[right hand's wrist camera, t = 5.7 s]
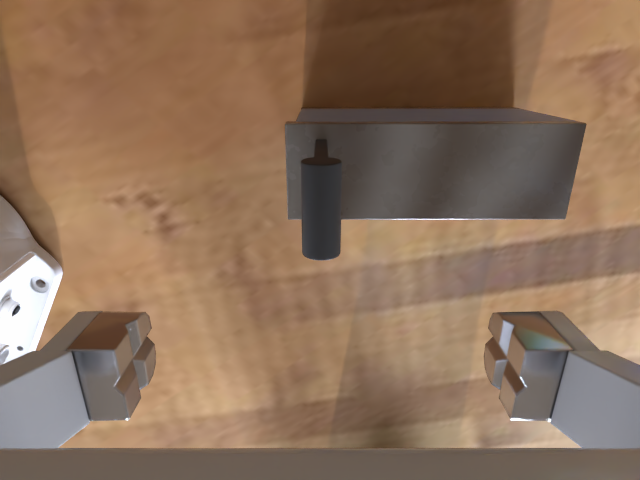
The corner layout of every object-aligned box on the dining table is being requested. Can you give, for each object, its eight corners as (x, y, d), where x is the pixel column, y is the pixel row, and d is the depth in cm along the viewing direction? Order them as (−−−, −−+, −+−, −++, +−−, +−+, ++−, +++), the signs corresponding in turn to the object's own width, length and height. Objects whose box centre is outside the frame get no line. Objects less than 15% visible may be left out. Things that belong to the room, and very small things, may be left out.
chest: (302, 180, 37) (297, 214, 28) (301, 107, 34) (295, 121, 26) (502, 180, 37) (557, 214, 28) (514, 107, 34) (577, 120, 26)
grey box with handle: (289, 214, 28) (275, 275, 20) (286, 121, 26) (270, 147, 18) (557, 214, 28) (654, 275, 20) (577, 120, 26) (695, 146, 18)
